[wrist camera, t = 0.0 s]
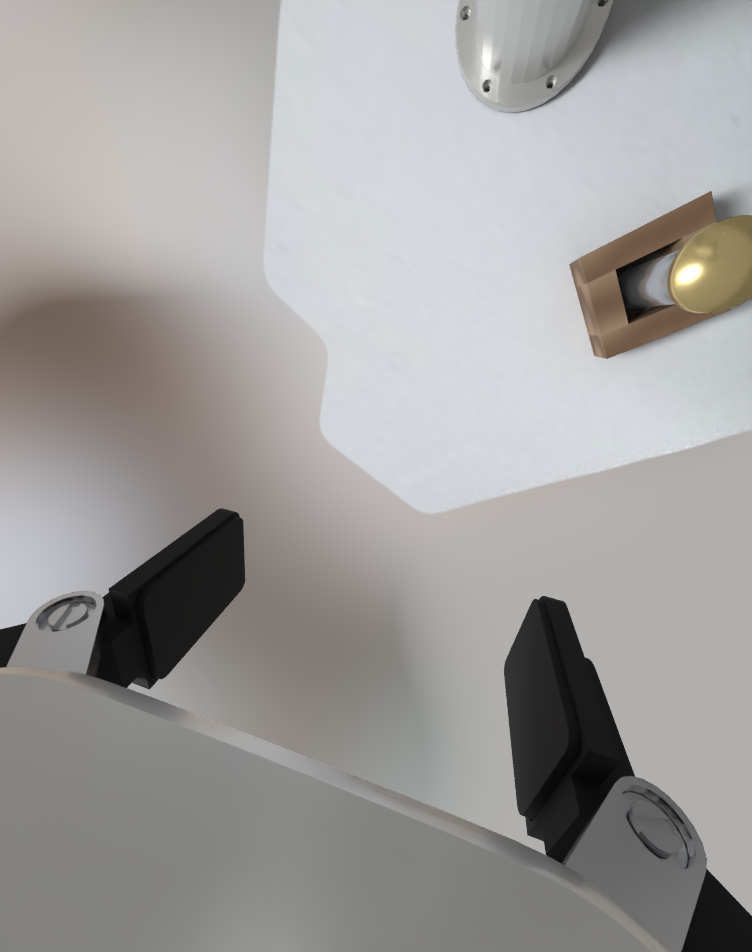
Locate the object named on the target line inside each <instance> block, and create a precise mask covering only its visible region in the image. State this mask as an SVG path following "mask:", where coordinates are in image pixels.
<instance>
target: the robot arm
mask: <svg viewBox="0 0 752 952" xmlns="http://www.w3.org/2000/svg"><path fill="white" fill-rule="evenodd" d="M612 3H613V0H459V2H458V7H457V16H456V29H455V32H456V49H457V57H458V63H459V66H460V69H461V73H462V76H463V78H464V80H465V82H466V84H467V86H468V88H469V90H470V91H471V92H472V93H473V94H474V96H475V97H476V98H477V99H478V100H479V101H480V102H482V103H483V104H485V105H486V106H488V107H489V108H492V109H495V110H498V111H501V112H520V111H526V110H529V109H532V108H534V107H537V106H539V105H541V104H543V103H545V102H546V101H548V100H549V99H551V98H553V97H554V96H556V95H557V94H558V93H559V92H560V91H561V90H562V89H564V88H565V87H566V86H567V85H568V84H569V83H570V82H571V81H572V80H573V78H574V77H575V76H576V75H577V74H578V73H579V71H580V70H581V69H582V67H583V66H584V64H585V63H586V61H587V60H588V58H589V57H590V55H591V54H592V52H593V50H594V48H595V46H596V44H597V42H598V40H599V38H600V36H601V34H602V31H603V29H604V26H605V24H606V21H607V19H608V17H609V14H610V10H611V7H612ZM599 4H602V5H603V6H602V7H601V6H599ZM464 18H468V19H467V20H464ZM548 85H551V86H552V88H551V89H548V88H547V86H548ZM485 89H489V90H490V91H489V92H487V93H486V92H484V91H485ZM244 564H245V563H244V533H243V520H242V519H241V518H240V516H239V514H238V513H237V512H233V511H230V510H226V509H218V510H217V511H215V512H214V513H212V514H211V515H210V516H208V517H207V518H206V519H204V520H203V521H201V522H200V523H199V524H197V525H196V526H194V527H193V528H192V529H191V530H189V531H188V532H186V533H185V534H184V535H182V536H181V537H179V538H178V539H177V540H175V541H174V542H173V543H171V544H170V545H168V546H167V547H166V548H164V549H163V550H162V551H160V552H159V553H158V554H156V555H155V556H153V557H152V558H150V559H149V560H148V561H146V562H145V563H144V564H142V565H141V566H139V567H138V568H137V569H135V570H134V571H133V572H131V573H130V574H128V575H127V576H126V577H124V578H123V579H122V580H120V581H119V582H118V583H116V584H115V585H114V586H112V587H111V588H109V593H108V594H107V595H105V596H104V597H101V595H100V594H97V593H95V592H90V591H79V592H72V593H69V594H65V595H62V596H59V597H57V598H55V599H52V600H50V601H49V602H47V603H45V604H44V605H42V606H41V607H40V608H38V609H37V610H36V611H35V612H34V613H33V614H32V616H31V617H30V618H29V620H28V622H27V623H25V624H21V625H17V626H13V627H9V628H5V629H1V630H0V952H752V916H751V915H750V914H749V913H748V912H747V911H746V910H745V909H744V908H743V907H742V905H741V904H740V903H739V902H738V901H737V900H736V899H735V898H734V897H733V896H732V895H731V894H730V893H729V892H728V891H727V890H726V889H725V888H724V887H723V886H722V884H721V883H720V882H719V881H718V880H717V879H716V878H715V877H714V876H713V875H712V874H711V873H710V872H709V871H708V870H707V869H706V864H707V858H706V854H705V851H704V847H703V843H702V841H701V839H700V837H699V835H698V833H697V832H696V830H695V828H694V826H693V824H692V823H691V822H690V820H689V819H688V818H687V816H686V815H685V813H684V812H683V811H682V810H681V809H680V807H679V806H678V805H677V804H676V803H675V802H674V801H673V800H672V799H671V798H670V797H669V796H668V795H666V794H665V793H664V792H663V791H661V790H660V789H659V788H658V787H656V786H655V785H653V784H651V783H649V782H647V781H646V780H644V779H641V778H637V777H635V775H634V773H633V770H632V767H631V764H630V762H629V759H628V757H627V754H626V751H625V748H624V745H623V743H622V740H621V737H620V735H619V732H618V729H617V726H616V724H615V721H614V718H613V715H612V713H611V710H610V707H609V705H608V702H607V699H606V696H605V694H604V691H603V688H602V685H601V683H600V680H599V677H598V675H597V672H596V669H595V667H594V665H593V663H592V662H591V661H590V660H589V659H588V658H585V657H584V654H583V651H582V648H581V645H580V643H579V640H578V637H577V634H576V631H575V628H574V625H573V622H572V620H571V617H570V614H569V611H568V608H567V606H566V603H565V602H563V601H560V600H556V599H553V598H549V597H546V596H542V597H541V598H540V599H539V600H537V599H534V600H533V601H532V603H531V606H530V607H529V610H528V612H527V614H526V617H525V619H524V621H523V623H522V625H521V628H520V630H519V632H518V634H517V636H516V639H515V641H514V643H513V645H512V647H511V650H510V652H509V655H508V656H507V659H506V661H505V666H504V676H505V686H506V697H507V707H508V716H509V727H510V737H511V747H512V757H513V767H514V777H515V787H516V797H517V806H518V811H519V813H520V815H522V816H525V817H526V826H527V835H529V836H531V837H534V838H537V839H539V840H542V841H544V844H545V851H546V855H547V856H546V855H544V854H542V853H540V852H538V851H536V850H533V849H531V848H529V847H527V846H525V845H523V844H521V843H519V842H517V841H515V840H512V839H510V838H508V837H505V836H502V835H500V834H498V833H496V832H493V831H491V830H488V829H486V828H484V827H481V826H479V825H476V824H474V823H472V822H469V821H467V820H464V819H462V818H460V817H457V816H455V815H452V814H450V813H448V812H445V811H443V810H440V809H438V808H435V807H433V806H430V805H427V804H425V803H422V802H420V801H417V800H415V799H412V798H410V797H407V796H405V795H402V794H400V793H397V792H395V791H392V790H390V789H387V788H384V787H382V786H379V785H377V784H374V783H372V782H369V781H367V780H364V779H362V778H359V777H357V776H354V775H351V774H349V773H347V772H344V771H341V770H339V769H336V768H334V767H331V766H328V765H326V764H323V763H321V762H318V761H316V760H313V759H311V758H308V757H305V756H303V755H300V754H298V753H295V752H293V751H290V750H288V749H285V748H282V747H280V746H277V745H275V744H272V743H269V742H267V741H264V740H262V739H259V738H257V737H254V736H251V735H249V734H246V733H243V732H241V731H238V730H236V729H233V728H230V727H228V726H226V725H223V724H220V723H218V722H215V721H212V720H210V719H207V718H204V717H202V716H199V715H197V714H194V713H191V712H188V711H186V710H184V709H181V708H178V707H176V706H173V705H170V704H168V703H165V702H163V701H160V700H157V699H155V698H152V697H149V696H146V695H144V694H141V693H138V692H135V691H133V690H130V689H127V687H128V686H129V685H130V684H131V683H132V682H133V683H134V684H137V685H139V686H142V687H144V688H147V689H150V688H151V687H152V686H153V685H154V684H155V683H156V682H157V680H158V679H163V678H165V677H166V676H167V675H168V674H169V673H170V672H171V671H172V669H173V668H174V667H175V666H176V665H177V663H178V662H179V661H180V660H181V659H182V658H183V657H184V656H185V654H186V653H187V652H188V651H189V650H190V649H191V647H192V646H193V645H194V644H195V643H196V642H197V641H198V639H199V638H200V637H201V636H202V635H203V634H204V632H205V631H206V630H207V629H208V628H209V627H210V626H211V624H212V623H213V622H214V621H215V619H217V617H218V616H219V615H220V614H221V613H222V612H223V611H224V609H225V608H226V607H227V606H228V605H229V604H230V602H231V601H232V600H233V599H234V598H235V597H236V596H237V594H238V593H239V592H240V591H241V590H242V588H243V586H244V583H245V565H244Z"/></svg>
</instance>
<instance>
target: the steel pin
mask: <svg viewBox="0 0 752 952" xmlns="http://www.w3.org/2000/svg"><path fill="white" fill-rule="evenodd" d="M618 283H619V287H620V291H621V295H622V299H623V303H624V307H625V309H636V308H645V307H655V306H664V305H673V304H676V305H677V306H678V307H680V308H681V309H683V310H686V311H689V312H693V313H713V312H720V311H724V310H727V309H730V308H733V307H735V306H737V305H739V304H741V303H743V302H745V301H746V300H748V299H749V298H751V297H752V216H751V215H742V216H735V217H731V218H727V219H725V220H722V221H720V222H717V223H715V224H713V225H710V226H708V227H706V228H704V229H702V230H701V231H699V232H698V233H696V234H695V235H694V236H693V237H691V238H690V239H689V240H688V241H687V242H686V243H685V244H684V245H683V246H682V248H681V249H680V250H678V251H675V252H672V253H669V254H667V255H664V256H661V257H659V258H656V259H653V260H650V261H648V262H645V263H642V264H639V265H637V266H634V267H632V268H630V269H628V270H626V271H625V272H624V273H623V274H622V275H621V276H620V277H619V278H618Z"/></svg>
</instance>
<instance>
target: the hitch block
mask: <svg viewBox="0 0 752 952" xmlns="http://www.w3.org/2000/svg"><path fill="white" fill-rule="evenodd" d="M715 223H716V216H715V210H714V204H713V198H712V192H711V191H710V192H708V193H706V194H704V195H702V196H701V197H699V198H697V199H695V200H693V201H691V202H689V203H687V204H685V205H683V206H681V207H679V208H677V209H675V210H673V211H671V212H669V213H667V214H665V215H663V216H661V217H659V218H657V219H655V220H653V221H651V222H649V223H647V224H645V225H644V226H642V227H640V228H638V229H636V230H634V231H632V232H630V233H628V234H626V235H624V236H622V237H620V238H618V239H616V240H614V241H612V242H610V243H608V244H606V245H604V246H602V247H600V248H598V249H596V250H594V251H592V252H590V253H589V254H587V255H585V256H583V257H581V258H579V259H577V260H576V261H574V262H573V263H571V264H569V265H570V268H571V272H572V276H573V279H574V283H575V287H576V290H577V294H578V298H579V301H580V305H581V308H582V312H583V316H584V319H585V323H586V327H587V330H588V334H589V338H590V341H591V345H592V348H593V352H594V356H598V357H602V358H606V359H608V358H610V357H613V356H615V355H618V354H620V353H623V352H625V351H628V350H630V349H633V348H635V347H638V346H640V345H643V344H645V343H648V342H650V341H653V340H655V339H658V338H661V337H663V336H666V335H668V334H671V333H673V332H676V331H678V330H681V329H683V328H686V327H688V326H691V325H693V324H696V323H698V322H701V321H703V320H706V319H708V318H711V317H713V316H716V315H718V314H721V313H723V312H726V311H728V310H731V309H727V310H724V311H720V312H713V313H693V312H689V311H686V310H683V309H681V308H680V307H678V306H677V305H676V304H673V305H664V306H655V307H653V308H651V309H648V310H646V311H644V312H641V313H639V314H637V315H634V316H632V317H630V318H627V316H626V312H625V307H624V303H623V299H622V295H621V291H620V287H619V283H618V278H617V274H616V269H618V268H620V267H622V266H624V265H626V264H629V263H631V262H633V261H635V260H637V259H639V258H641V257H643V256H645V255H647V254H649V253H651V252H654V251H656V250H658V249H660V250H661V255H662V256H664V255H667V254H669V253H672V252H675V251H678V250H680V249H681V248H682V246H683V245H684V244H685V243H686V242H687V241H688V240H689V239H690V238H691V237H693V236H694V235H695V234H696V233H698V232H699V231H701V230H702V229H704V228H706V227H708V226H710V225H713V224H715Z"/></svg>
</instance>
